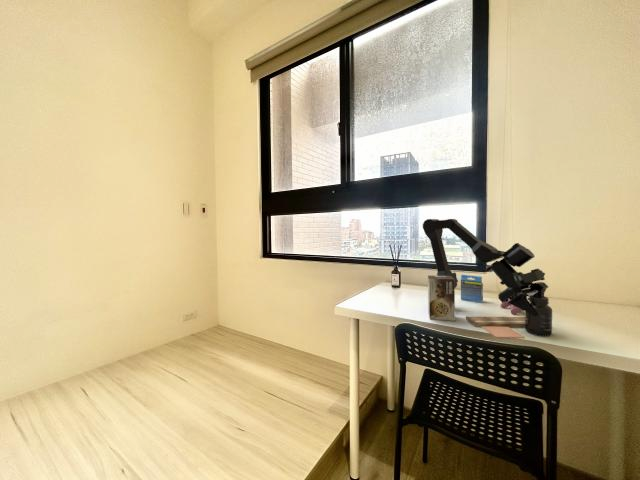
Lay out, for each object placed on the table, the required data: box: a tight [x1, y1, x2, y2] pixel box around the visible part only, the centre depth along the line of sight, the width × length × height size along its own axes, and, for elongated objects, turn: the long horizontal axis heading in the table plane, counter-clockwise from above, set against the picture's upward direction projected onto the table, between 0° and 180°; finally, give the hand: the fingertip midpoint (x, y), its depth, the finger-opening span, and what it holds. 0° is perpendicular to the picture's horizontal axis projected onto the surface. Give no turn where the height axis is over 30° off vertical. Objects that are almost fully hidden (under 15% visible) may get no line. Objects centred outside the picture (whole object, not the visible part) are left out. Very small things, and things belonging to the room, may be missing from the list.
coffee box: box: [427, 274, 456, 322], centre depth 101 cm, size 9×6×16 cm
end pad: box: [482, 326, 526, 339], centre depth 86 cm, size 9×9×1 cm
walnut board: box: [465, 315, 525, 328], centre depth 94 cm, size 24×7×1 cm, turn 84°
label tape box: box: [460, 274, 484, 304], centre depth 122 cm, size 9×4×12 cm, turn 49°
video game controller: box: [499, 299, 524, 315], centre depth 107 cm, size 10×5×7 cm, turn 169°
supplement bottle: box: [524, 295, 553, 337], centre depth 85 cm, size 7×7×12 cm
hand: (543, 314), depth 84 cm, fingers closed on supplement bottle, 7 cm apart
